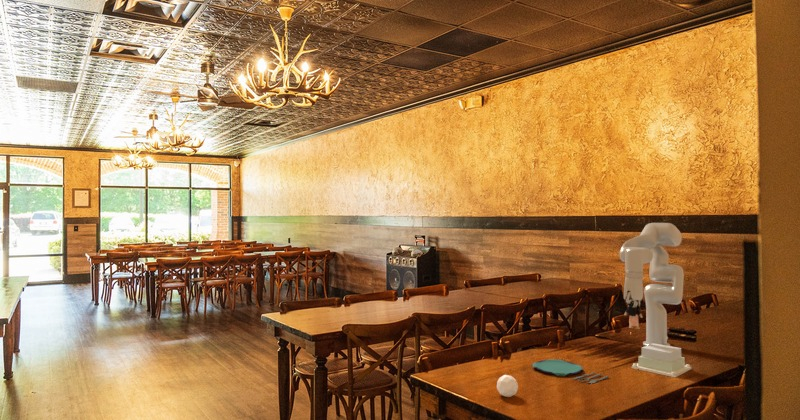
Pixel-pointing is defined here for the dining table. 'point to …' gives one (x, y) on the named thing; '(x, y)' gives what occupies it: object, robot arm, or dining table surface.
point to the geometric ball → (507, 386)
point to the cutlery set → (563, 369)
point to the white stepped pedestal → (662, 360)
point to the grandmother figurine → (634, 318)
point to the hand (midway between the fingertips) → (634, 314)
